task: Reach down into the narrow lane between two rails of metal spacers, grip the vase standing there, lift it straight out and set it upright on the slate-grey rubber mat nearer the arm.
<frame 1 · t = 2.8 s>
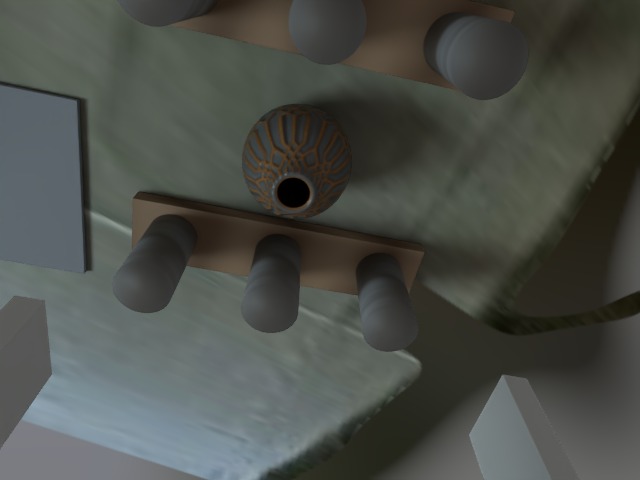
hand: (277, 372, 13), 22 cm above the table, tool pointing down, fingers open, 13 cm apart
vase: (299, 143, 33), on the table
spacer rack: (299, 144, 32), on the table
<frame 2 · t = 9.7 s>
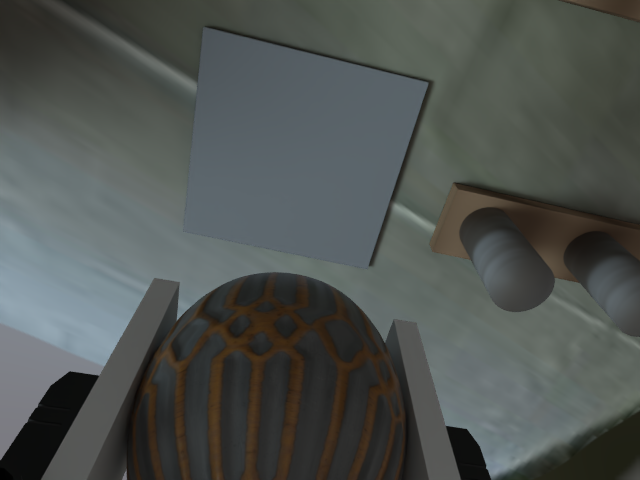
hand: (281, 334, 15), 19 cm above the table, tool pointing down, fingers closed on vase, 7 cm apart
vase: (282, 323, 15), point 18 cm above the table, touching gripper
mat: (296, 161, 31), on the table
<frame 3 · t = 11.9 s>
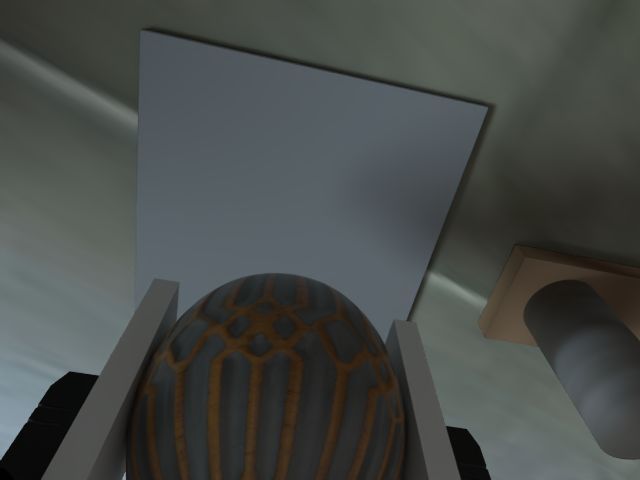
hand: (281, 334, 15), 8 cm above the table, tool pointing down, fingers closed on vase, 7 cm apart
vase: (281, 323, 15), point 7 cm above the table, touching gripper
mat: (290, 221, 22), on the table
when the fingers open (2 cm above the table, at t = 13.8 s): vase drops 1 cm, resting on mat.
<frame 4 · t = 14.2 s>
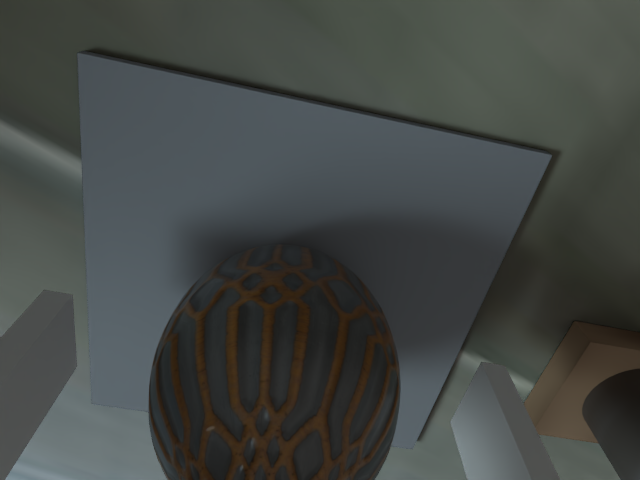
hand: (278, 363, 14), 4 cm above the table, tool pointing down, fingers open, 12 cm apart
vase: (285, 298, 17), resting on mat
mat: (286, 292, 17), on the table
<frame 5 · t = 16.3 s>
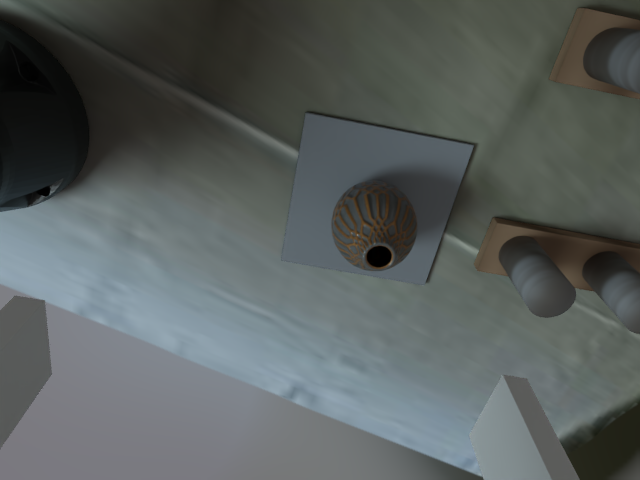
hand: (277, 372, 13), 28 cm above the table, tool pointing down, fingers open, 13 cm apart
vase: (370, 206, 41), resting on mat
mat: (370, 205, 41), on the table
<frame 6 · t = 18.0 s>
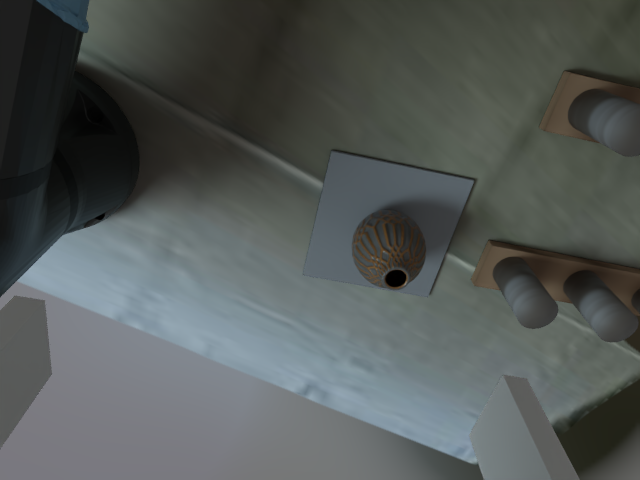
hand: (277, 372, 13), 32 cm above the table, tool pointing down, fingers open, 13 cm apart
vase: (383, 229, 47), resting on mat
mat: (383, 228, 47), on the table
spacer rack: (615, 208, 46), on the table
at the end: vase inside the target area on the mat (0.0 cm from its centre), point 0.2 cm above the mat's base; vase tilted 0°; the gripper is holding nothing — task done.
